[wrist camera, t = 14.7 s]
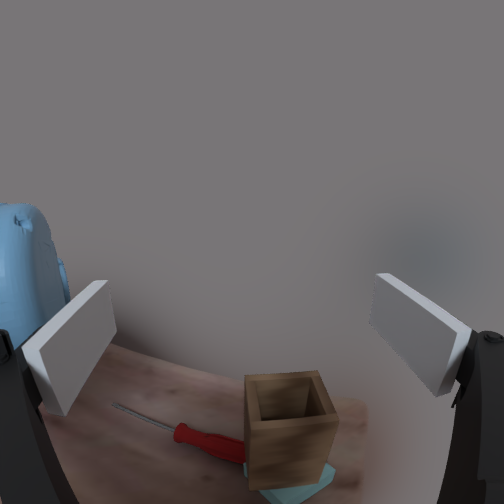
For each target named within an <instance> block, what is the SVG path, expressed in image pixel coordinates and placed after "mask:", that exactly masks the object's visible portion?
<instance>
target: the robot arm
mask: <svg viewBox="0 0 504 504" xmlns="http://www.w3.org/2000/svg"><path fill="white" fill-rule="evenodd" d="M63 265H64V264H63V262H62V260H61V259H60V258H57V254H56V250H55V247H54V243H53V241H52V240H51V232H50V229H49V226H48V223H47V221H46V219H45V217H44V215H43V214H42V213H41V212H40V210H39V209H37V208H36V207H35V206H33V205H31V204H26V203H20V204H6V203H0V496H1V500H2V504H79V502H78V500H77V498H76V497H75V495H74V493H73V491H72V489H71V487H70V485H69V483H68V480H67V478H66V476H65V474H64V472H63V470H62V467H61V465H60V463H59V461H58V458H57V456H56V453H55V451H54V448H53V446H52V443H51V441H50V438H49V435H48V433H47V430H46V427H45V424H44V421H43V418H42V415H41V413H40V411H39V409H38V406H39V405H40V403H41V402H42V401H43V403H44V405H45V408H46V410H47V412H48V413H49V414H54V415H58V416H62V417H66V415H67V413H68V411H69V409H70V408H71V406H72V404H73V402H74V401H75V399H76V397H77V396H78V394H79V392H80V390H81V389H82V387H83V385H84V384H85V382H86V380H87V379H88V377H89V375H90V374H91V372H92V370H93V369H94V367H95V365H96V364H97V362H98V361H99V359H100V357H101V356H102V354H103V353H104V351H105V349H106V348H107V346H108V345H109V343H110V342H111V340H112V338H113V337H114V335H115V334H116V332H117V329H116V324H115V318H114V313H113V307H112V301H111V295H110V288H109V281H108V280H102V281H101V280H95V281H93V282H92V283H91V284H90V285H89V286H88V287H86V288H85V289H84V290H83V291H82V292H81V293H79V294H78V295H77V296H76V297H75V298H74V299H73V300H72V301H70V292H69V286H68V281H67V276H66V271H65V268H64V266H63ZM369 324H370V325H371V326H372V327H373V328H374V329H375V330H376V331H377V332H378V333H379V334H380V335H381V337H382V338H383V339H384V340H385V341H386V342H387V343H388V344H389V345H390V346H391V347H392V349H393V350H394V351H395V352H396V353H397V354H398V355H399V356H400V357H401V359H402V360H403V361H404V362H405V363H406V364H407V365H408V366H409V367H410V369H411V370H412V371H413V372H414V373H415V374H416V375H417V376H418V378H419V379H420V380H421V381H422V382H423V383H424V384H425V385H426V387H427V388H428V389H429V390H430V391H431V392H432V393H433V395H434V396H435V397H438V396H441V395H444V394H447V393H450V392H451V389H452V387H453V384H454V382H455V379H456V380H457V381H458V382H459V383H460V384H461V385H460V387H459V390H458V392H457V394H456V397H455V399H454V401H453V404H452V406H451V408H454V405H455V404H456V412H455V419H454V427H453V433H452V440H451V445H450V450H449V456H448V461H447V465H446V470H445V474H444V478H443V482H442V486H441V490H440V494H439V498H438V501H437V504H504V337H503V336H502V335H500V334H498V333H496V332H492V331H482V332H480V333H477V332H476V331H474V330H473V329H471V328H470V327H468V326H467V325H466V324H464V323H462V322H461V321H460V320H458V319H456V318H455V317H454V316H453V315H451V314H450V313H448V312H446V311H445V310H443V309H442V308H441V307H439V306H438V305H436V304H435V303H433V302H432V301H430V300H429V299H427V298H426V297H424V296H423V295H421V294H420V293H418V292H417V291H415V290H414V289H412V288H411V287H409V286H407V285H406V284H405V283H403V282H401V281H400V280H398V279H397V278H395V277H393V276H392V275H391V274H389V273H383V274H376V278H375V286H374V294H373V301H372V308H371V315H370V321H369Z"/></svg>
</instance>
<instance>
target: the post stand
mask: <svg viewBox="0 0 504 504" xmlns="http://www.w3.org/2000/svg"><path fill="white" fill-rule="evenodd" d="M243 464H244V476H245V477H246V478H247V479H248V476H247V467H246V462H245V463H243ZM335 471H336V470H335V469H334V468H332V467H331V466H330V465H328V464H327V463H326V464H325V466H324V469H323V472H322V475H321V477H320V480H319V483H318V484H311V485H305V486H298V487H290V488H281V489H271V490H258V491H259V492H260V493H261V494H262V495H263V496H264V497H265V498H266V499H267V500H268V501H269V502H270V503H271V504H300V503H301V502H303V501H304V500H306V499H308V498H309V497H311V496H312V495H314V494H315V493H316V492H318V491H319V490H321V489H322V488H324V487H325V486H326V485H328V484H329V483H331V482H332V479H333V476H334V474H335Z"/></svg>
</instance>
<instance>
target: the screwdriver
mask: <svg viewBox="0 0 504 504" xmlns="http://www.w3.org/2000/svg"><path fill="white" fill-rule="evenodd" d="M112 405H113V406H114V407H116V408H119V409H121V410H123V411H125V412H128V413H130V414H132V415H134V416H136V417H138V418H141V419H143V420H145V421H148V422H150V423H152V424H155V425H157V426H159V427H162V428H164V429H167V430H170V431H172V432H174V441H175V442H177V443H182V442H184V443H187V444H190V445H193V446H196V447H199V448H200V449H202V450H204V451H205V452H207V453H209V454H210V455H213V456H216V457H219V458H222V459H226V460H229V461H233V462H236V463H240V464H243V463H245V462H246V457H245V447H244V441H240V440H237V439H233V438H230V437H226V436H223V435H219V434H208V433H202V432H199V431H196V430H193V429H190V428H189V427H188V426H187V425H186V424H184V423H180V424H179V425H178V426H177V427H176V429H173V428H170V427H168V426H165V425H163V424H160V423H158V422H155V421H153V420H151V419H148V418H146V417H144V416H141V415H139V414H137V413H134V412H132V411H130V410H128V409H126V408H124V407H122V406H120V405H119V404H116V403H113V404H112Z"/></svg>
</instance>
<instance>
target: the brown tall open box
mask: <svg viewBox="0 0 504 504" xmlns="http://www.w3.org/2000/svg"><path fill="white" fill-rule="evenodd" d="M339 421H340V420H339V418H338V416H337V413H336V411H335V409H334V406H333V404H332V402H331V400H330V397H329V395H328V393H327V390H326V388H325V386H324V384H323V382H322V379H321V377H320V375H319V372H318V371H317V370H316V371H306V372H293V373H279V374H260V375H245V392H244V447H245V457H246V467H247V476H248V486H249V491H258V490H271V489H281V488H290V487H298V486H305V485H311V484H318V483H319V480H320V477H321V475H322V472H323V469H324V466H325V464H326V461H327V458H328V455H329V452H330V449H331V446H332V443H333V440H334V437H335V434H336V430H337V427H338V424H339Z"/></svg>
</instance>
